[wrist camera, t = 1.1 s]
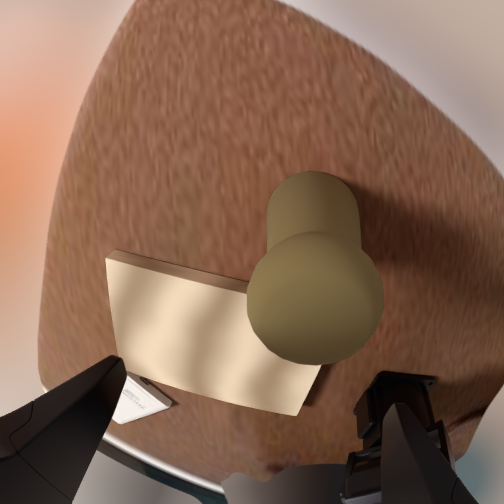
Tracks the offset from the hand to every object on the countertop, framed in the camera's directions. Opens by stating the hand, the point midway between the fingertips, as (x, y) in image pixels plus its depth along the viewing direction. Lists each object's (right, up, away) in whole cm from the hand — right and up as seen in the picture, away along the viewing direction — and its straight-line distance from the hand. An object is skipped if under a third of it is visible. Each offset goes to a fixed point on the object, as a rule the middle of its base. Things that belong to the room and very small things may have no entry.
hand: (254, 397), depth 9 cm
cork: (+4, +7, +11) cm, 13 cm away
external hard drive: (-16, -13, +25) cm, 32 cm away
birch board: (-3, -3, +17) cm, 17 cm away
